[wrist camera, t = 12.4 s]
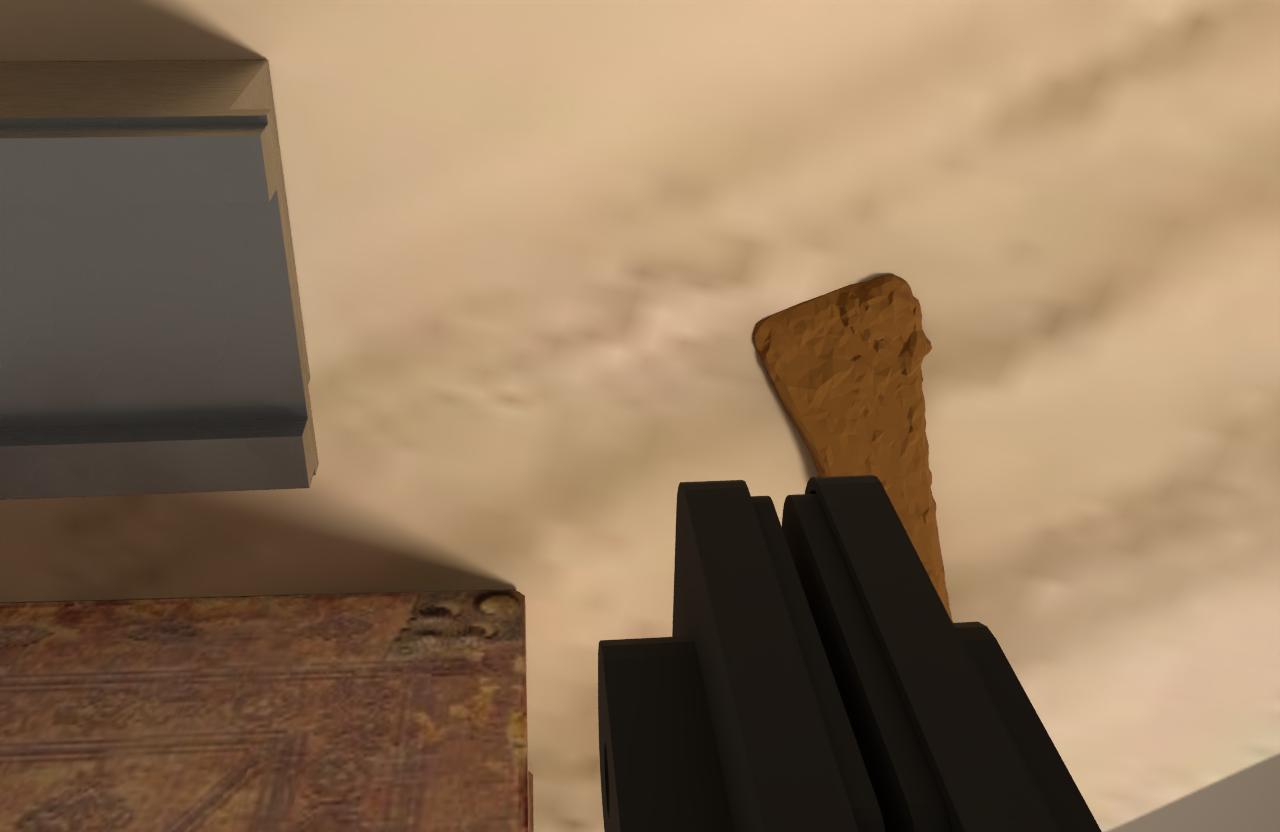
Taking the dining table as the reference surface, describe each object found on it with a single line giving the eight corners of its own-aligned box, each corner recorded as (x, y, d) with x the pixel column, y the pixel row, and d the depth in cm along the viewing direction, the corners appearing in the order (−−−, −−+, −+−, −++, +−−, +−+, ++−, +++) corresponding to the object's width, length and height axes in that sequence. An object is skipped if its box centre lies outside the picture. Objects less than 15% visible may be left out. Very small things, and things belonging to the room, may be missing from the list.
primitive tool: (745, 318, 40) (765, 366, 37) (904, 258, 39) (938, 301, 36) (891, 720, 49) (917, 785, 46) (1021, 675, 48) (1056, 737, 45)
